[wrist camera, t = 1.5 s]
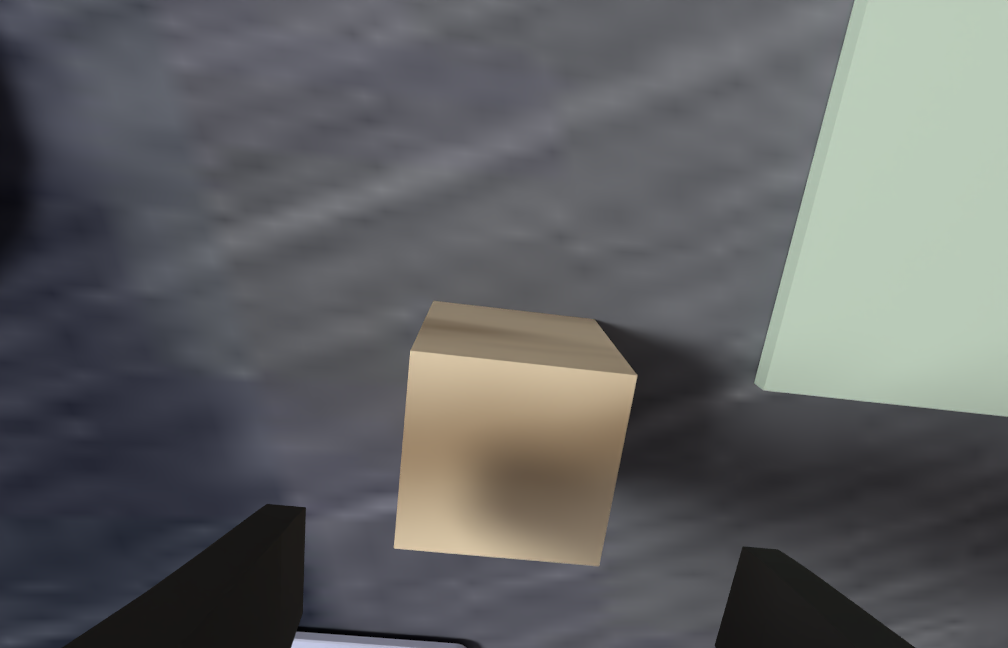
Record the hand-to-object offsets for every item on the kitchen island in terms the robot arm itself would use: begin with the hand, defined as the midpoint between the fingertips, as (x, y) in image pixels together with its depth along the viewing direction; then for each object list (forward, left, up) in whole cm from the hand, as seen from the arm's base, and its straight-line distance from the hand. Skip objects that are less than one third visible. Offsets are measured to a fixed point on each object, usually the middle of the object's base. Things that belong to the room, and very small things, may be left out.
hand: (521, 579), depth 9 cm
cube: (0, 0, -9) cm, 9 cm away
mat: (+7, -14, -8) cm, 18 cm away
